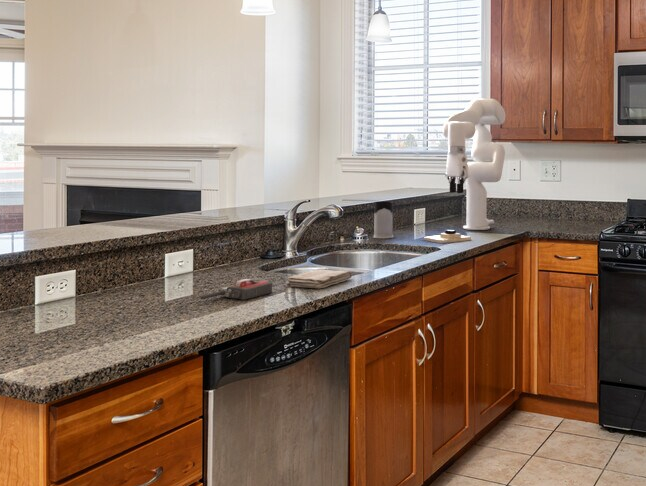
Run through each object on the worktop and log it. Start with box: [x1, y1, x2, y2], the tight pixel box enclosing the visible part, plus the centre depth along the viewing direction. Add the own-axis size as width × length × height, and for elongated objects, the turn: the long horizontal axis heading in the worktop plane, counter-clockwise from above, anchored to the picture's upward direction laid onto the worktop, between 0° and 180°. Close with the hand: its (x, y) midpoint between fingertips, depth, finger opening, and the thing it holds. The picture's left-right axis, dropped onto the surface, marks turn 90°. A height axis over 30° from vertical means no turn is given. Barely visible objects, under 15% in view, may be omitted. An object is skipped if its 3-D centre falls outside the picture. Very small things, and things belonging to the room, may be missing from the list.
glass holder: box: [372, 201, 394, 239], centre depth 323 cm, size 9×14×15 cm, turn 10°
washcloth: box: [286, 269, 353, 290], centre depth 218 cm, size 12×18×3 cm, turn 157°
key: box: [444, 229, 457, 234], centre depth 310 cm, size 3×3×2 cm
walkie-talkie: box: [199, 278, 273, 301], centre depth 198 cm, size 9×4×20 cm
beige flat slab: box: [423, 232, 472, 244], centre depth 311 cm, size 16×12×3 cm
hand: (456, 192), depth 322 cm, fingers open, 4 cm apart
